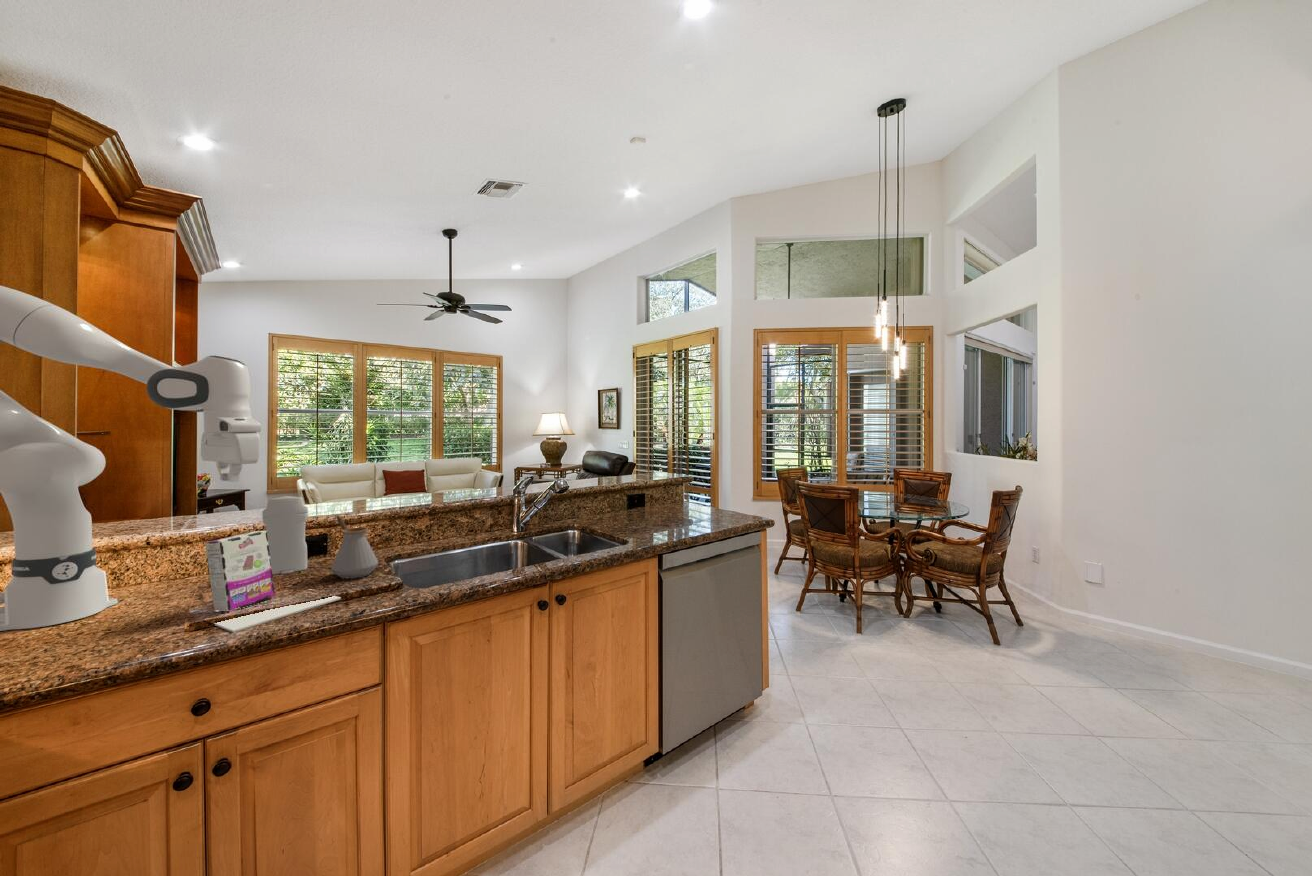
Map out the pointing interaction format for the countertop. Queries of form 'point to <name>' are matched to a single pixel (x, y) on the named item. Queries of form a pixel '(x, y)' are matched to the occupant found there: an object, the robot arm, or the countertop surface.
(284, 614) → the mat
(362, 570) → the coffee pot
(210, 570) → the candy bar box
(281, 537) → the gray flat bottle
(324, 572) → the countertop surface
